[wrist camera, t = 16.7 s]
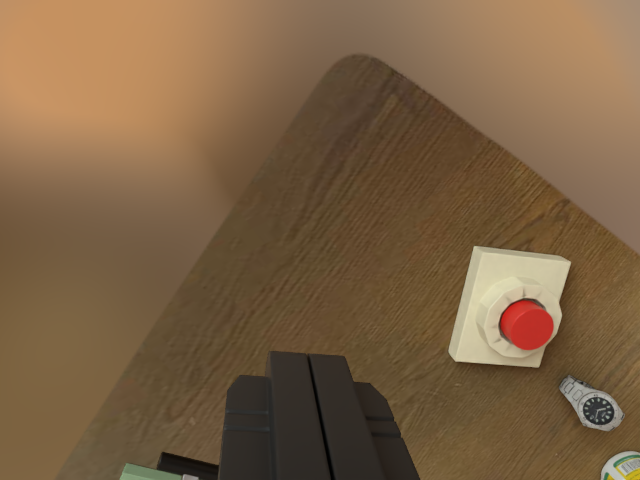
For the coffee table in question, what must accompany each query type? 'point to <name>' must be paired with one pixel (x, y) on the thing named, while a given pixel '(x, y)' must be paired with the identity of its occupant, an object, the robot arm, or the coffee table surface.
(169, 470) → the switch lever
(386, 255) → the coffee table surface
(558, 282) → the box
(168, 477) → the switch bracket
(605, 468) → the supplement bottle
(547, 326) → the stop button
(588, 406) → the wristwatch
